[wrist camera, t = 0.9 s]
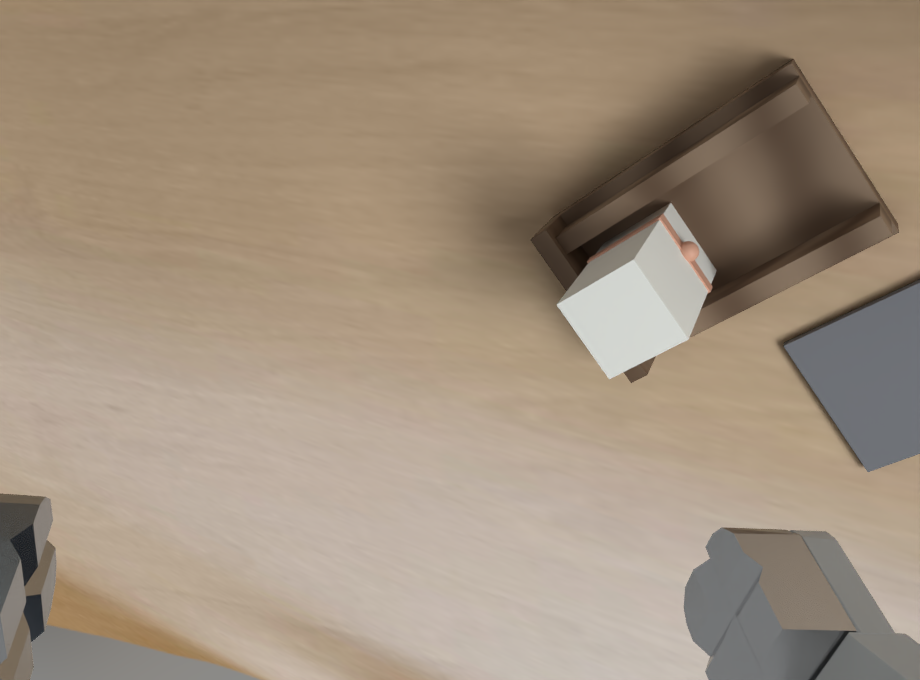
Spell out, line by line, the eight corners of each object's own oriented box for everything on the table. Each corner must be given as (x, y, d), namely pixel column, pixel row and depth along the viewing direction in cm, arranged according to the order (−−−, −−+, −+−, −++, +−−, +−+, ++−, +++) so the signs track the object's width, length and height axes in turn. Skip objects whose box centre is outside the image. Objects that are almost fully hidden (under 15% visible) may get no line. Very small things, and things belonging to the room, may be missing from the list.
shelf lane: (793, 58, 47) (787, 72, 44) (898, 224, 49) (900, 250, 45) (552, 217, 57) (530, 239, 53) (646, 352, 58) (631, 382, 54)
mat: (948, 266, 49) (948, 269, 48) (1036, 407, 50) (1038, 411, 49) (784, 342, 54) (783, 346, 54) (867, 467, 55) (867, 472, 55)
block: (681, 194, 51) (645, 249, 43) (729, 265, 52) (703, 334, 44) (601, 243, 54) (553, 303, 46) (647, 309, 55) (608, 381, 47)
